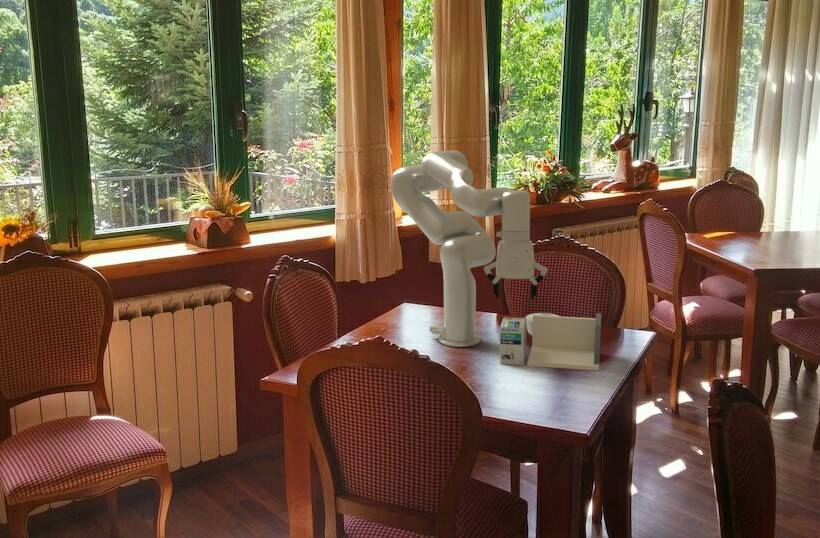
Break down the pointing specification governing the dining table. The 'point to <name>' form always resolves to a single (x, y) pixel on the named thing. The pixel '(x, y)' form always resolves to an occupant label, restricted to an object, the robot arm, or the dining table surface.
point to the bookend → (597, 338)
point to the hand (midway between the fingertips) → (515, 297)
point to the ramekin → (530, 320)
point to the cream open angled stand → (563, 342)
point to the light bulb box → (513, 341)
